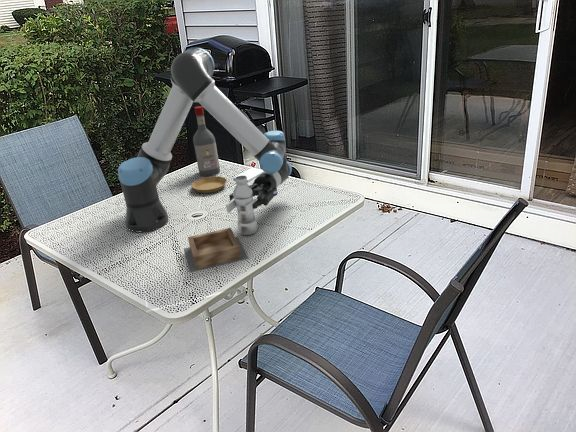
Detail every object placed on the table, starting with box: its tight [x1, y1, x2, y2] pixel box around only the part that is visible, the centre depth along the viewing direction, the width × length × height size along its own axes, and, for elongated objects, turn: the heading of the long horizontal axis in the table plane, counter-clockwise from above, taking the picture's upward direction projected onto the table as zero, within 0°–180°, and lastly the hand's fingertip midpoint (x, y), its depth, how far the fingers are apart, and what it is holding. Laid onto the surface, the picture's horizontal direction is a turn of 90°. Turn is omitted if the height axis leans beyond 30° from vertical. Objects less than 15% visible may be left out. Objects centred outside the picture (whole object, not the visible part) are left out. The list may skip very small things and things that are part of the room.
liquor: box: [192, 105, 221, 177], centre depth 219 cm, size 9×9×30 cm
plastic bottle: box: [232, 175, 258, 236], centre depth 162 cm, size 6×7×20 cm
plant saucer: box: [191, 175, 228, 194], centre depth 208 cm, size 15×15×3 cm
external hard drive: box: [232, 167, 264, 183], centre depth 217 cm, size 2×8×12 cm
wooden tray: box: [187, 227, 242, 269], centre depth 154 cm, size 14×14×4 cm
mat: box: [183, 236, 250, 273], centre depth 155 cm, size 18×16×1 cm
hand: (237, 209), depth 158 cm, fingers closed on plastic bottle, 6 cm apart
